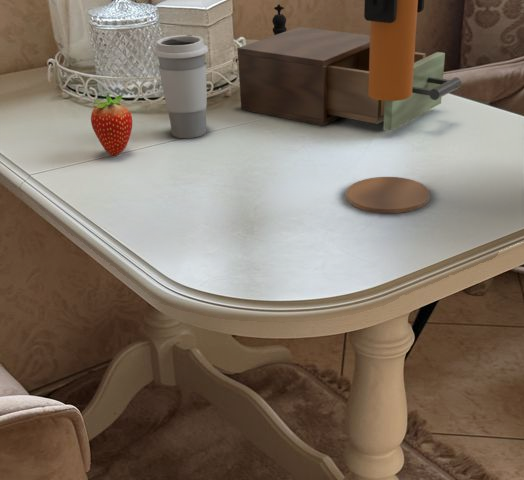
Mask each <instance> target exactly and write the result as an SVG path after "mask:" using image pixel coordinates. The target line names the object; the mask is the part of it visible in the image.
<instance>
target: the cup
mask: <svg viewBox="0 0 524 480" xmlns="http://www.w3.org/2000/svg"><path fill="white" fill-rule="evenodd" d="M207 53H209V48H208V46H207V44H206V43H205V41H204V38H203V37H202V36H199V35H193V34H180V35H179V34H178V35H171V36H166V37H162V38H159V39H158V40H157V41H156V47H154V49H153V55H154V56H155V57H157V58H158V63H159V65H158V70H159V75H160V81H161V86H162V91H163V97H164V102H165V107H166V110H167V113H168V118H169V123H170V130H171V134H172V136H174V138H179V139H193V138H198V137H201V136H203V135H205V134H206V133H207V106H208V102H207V101H208V99H207V98H208V97H207V96H208V95H207V90H208V89H207V63H206V54H207Z"/></svg>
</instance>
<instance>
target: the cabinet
mask: <svg viewBox="0 0 524 480" xmlns="http://www.w3.org/2000/svg"><path fill="white" fill-rule="evenodd" d="M368 48H370V34H362V33H361V34H360V33H353V32H347V31H337V30H328V29H321V28H312V27H304V26H298V27H295V28H292V29H289V30H286V32H283V33H280V34H277V35H274V34H273V35H272V36H268V37H266V38H262V39H259V40H256V41H254V42H250V43H247V44H245V45H242V46H239V47H237V48H236V51H237V64H238V65H237V67H238V79H239V95H240V110H243V111H247V112H253V113H258V114H261V115H267V116H272V117H277V118H281V119H282V118H283V119H286V120H292V121H297V122H302V123H308V124H311V125H316V126H322V127H324V126H326V125H328V124H330V123H332V122H335V121H337V120H339V119H340V118H341V117H339V116H334V115H329V114H327V109H326V65H329V64H331V63H334V62H336V61H338V60H341V59H343V58H346V57H348V56H351V55H353V54H356V53H358V52H360V51H363V50H365V49H368Z"/></svg>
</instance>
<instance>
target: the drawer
mask: <svg viewBox="0 0 524 480" xmlns="http://www.w3.org/2000/svg"><path fill="white" fill-rule="evenodd" d="M445 57H446V53H445V52H440V51H436V52H434V53H432V54H430V55H428V56H427V54H426V52H425V53H424V52H418V51H417V52H416V51H415V54H414V70H413V86H412V96H411V97H409V98H407V99H404V100H398V101H382V100H376V99H373V98H371V97H369V95H368V88H369V58H370V48H368V49H365V50H363V51H360V52H358V53H356V54H353V55H351V56H348V57H346V58H343V59H341V60H338V61H336V62H334V63H331V64H329V65H326V109H327V114H329V115H334V116H339V117H340V118H345V119H349V120H356V121H361V122H365V123H370V124H371V123H372V124H376V125H378V124H380V123H382V122H383V130H385V131H393V130H395V129H397V128H399V127H401V126H402V125H405V124H406V123H408V122H410V121H412V120H414V119H415V118H417V117H419V116H421V115H423V114H425V113H427V112H428V111H431V110H432V109H434V108H436V107H438V106H439V105H441V104H442V99H443V97H444V96H446V95H448V94H450V93H451V92H453V91H455V90H458V89H459V88H461V86H462V80H461V78H460V77H456V76H455V77H453V78H451V79H447V78H444V74H445V73H444V71H445V60H446V58H445Z"/></svg>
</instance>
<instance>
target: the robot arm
mask: <svg viewBox="0 0 524 480" xmlns="http://www.w3.org/2000/svg"><path fill="white" fill-rule="evenodd" d="M424 8H425V0H418V7H417V14H418V13H421V12H423V11H424V10H425V9H424ZM363 10H364V11H363V18H364V19H365V20H366V21H368V22H371V21H375V22H384V23H392V22H395V20H396V13H397V0H364V9H363Z"/></svg>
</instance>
